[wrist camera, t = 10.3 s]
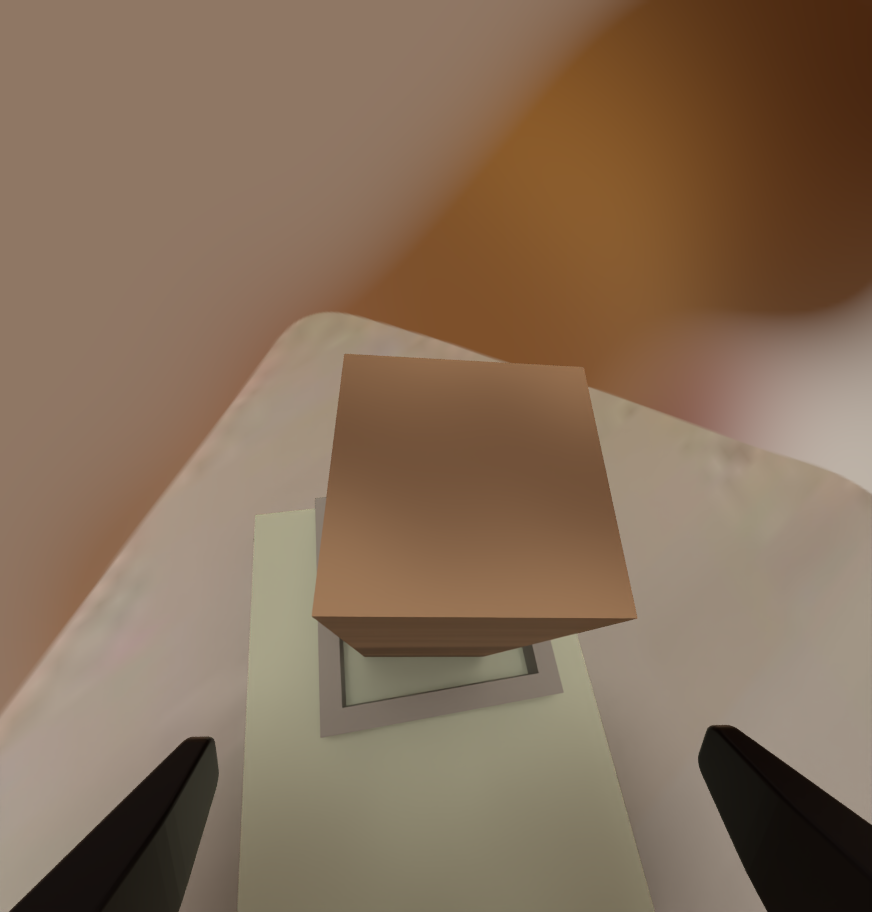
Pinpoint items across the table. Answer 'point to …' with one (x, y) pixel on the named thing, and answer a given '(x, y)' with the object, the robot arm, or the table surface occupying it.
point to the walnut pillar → (466, 510)
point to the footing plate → (418, 767)
